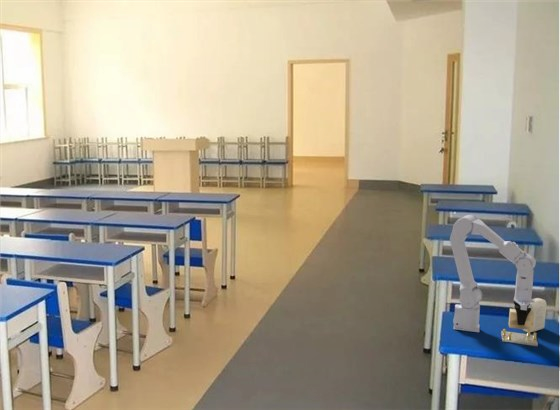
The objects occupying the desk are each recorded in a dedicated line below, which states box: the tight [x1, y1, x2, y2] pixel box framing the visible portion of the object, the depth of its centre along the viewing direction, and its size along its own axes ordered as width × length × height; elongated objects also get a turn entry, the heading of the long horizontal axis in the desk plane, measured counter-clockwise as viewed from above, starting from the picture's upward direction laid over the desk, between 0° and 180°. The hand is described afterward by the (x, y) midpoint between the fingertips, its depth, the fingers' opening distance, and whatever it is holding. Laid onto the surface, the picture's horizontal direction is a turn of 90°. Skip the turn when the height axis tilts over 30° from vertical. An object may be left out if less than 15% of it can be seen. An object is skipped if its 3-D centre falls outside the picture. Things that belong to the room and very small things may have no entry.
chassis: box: [500, 328, 539, 347], centre depth 218 cm, size 12×9×3 cm
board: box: [508, 308, 534, 330], centre depth 217 cm, size 8×4×6 cm, turn 72°
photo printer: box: [522, 297, 548, 333], centre depth 228 cm, size 10×4×12 cm, turn 123°
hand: (520, 322), depth 218 cm, fingers closed on board, 4 cm apart
